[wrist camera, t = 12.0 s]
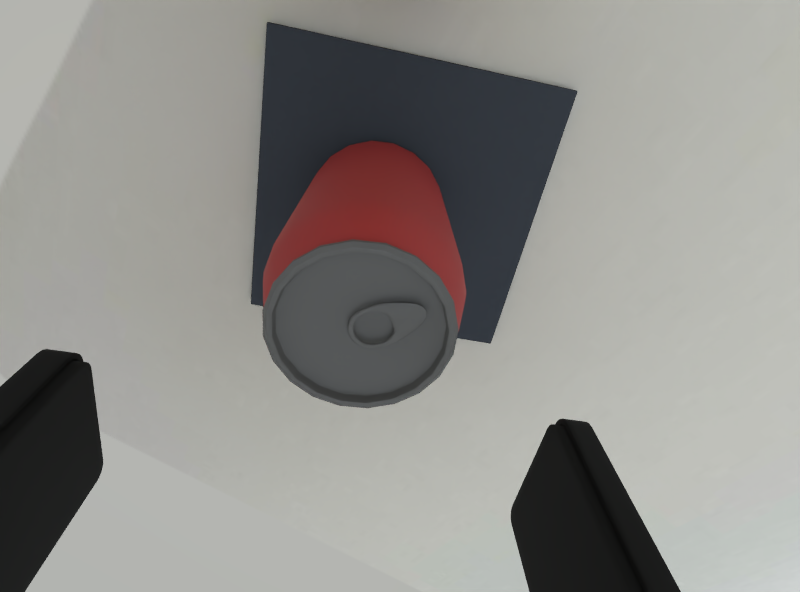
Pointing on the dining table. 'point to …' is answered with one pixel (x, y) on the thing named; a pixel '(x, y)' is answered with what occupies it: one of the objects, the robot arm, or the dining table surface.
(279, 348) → the beer can
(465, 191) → the mat
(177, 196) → the dining table surface
